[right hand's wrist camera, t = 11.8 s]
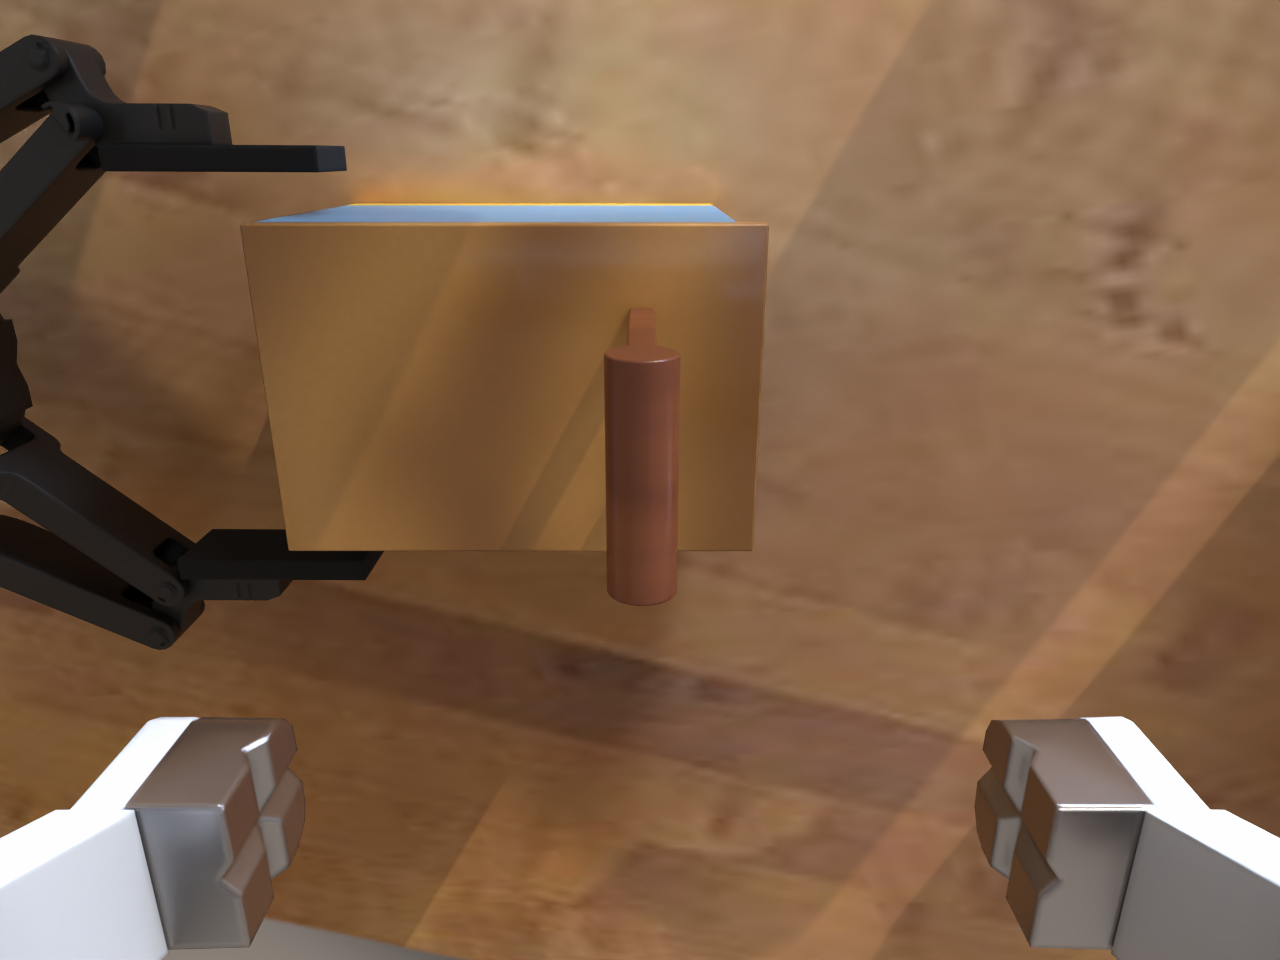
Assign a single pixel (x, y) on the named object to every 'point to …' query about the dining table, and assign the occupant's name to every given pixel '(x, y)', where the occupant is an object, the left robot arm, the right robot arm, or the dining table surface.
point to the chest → (512, 213)
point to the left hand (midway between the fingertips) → (356, 371)
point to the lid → (515, 387)
